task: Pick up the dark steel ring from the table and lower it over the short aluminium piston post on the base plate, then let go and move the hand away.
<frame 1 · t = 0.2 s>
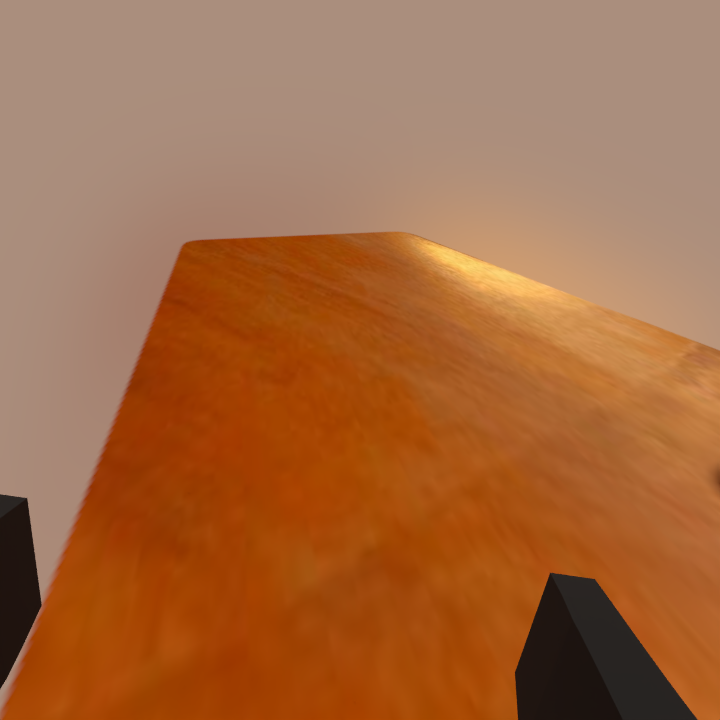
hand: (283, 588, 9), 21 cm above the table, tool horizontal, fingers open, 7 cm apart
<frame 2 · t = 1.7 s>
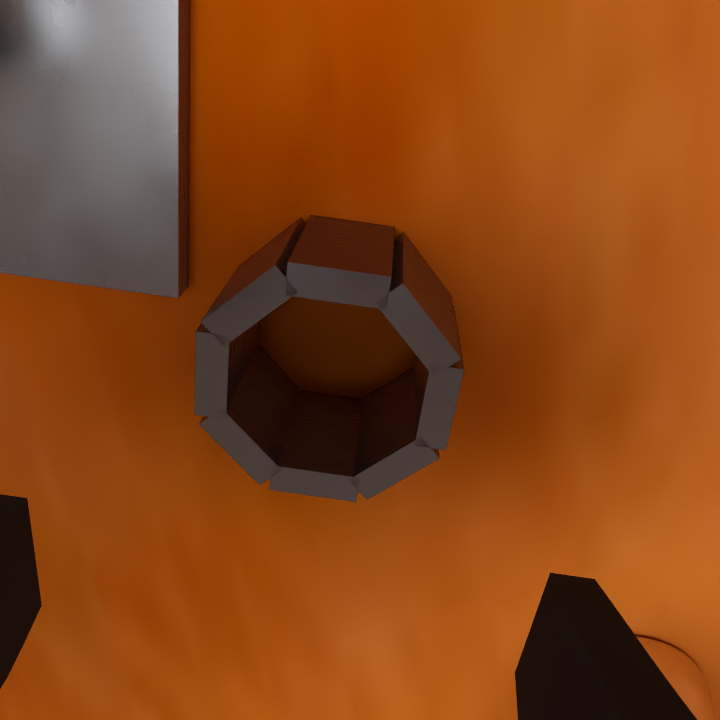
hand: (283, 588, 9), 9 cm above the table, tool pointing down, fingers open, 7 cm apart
ring: (339, 325, 17), on the table
beer glass: (610, 689, 23), on the table
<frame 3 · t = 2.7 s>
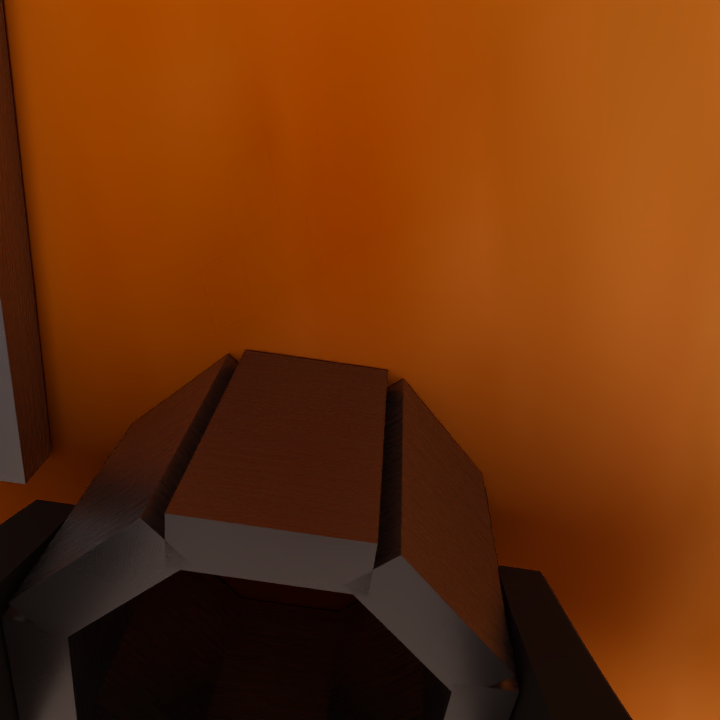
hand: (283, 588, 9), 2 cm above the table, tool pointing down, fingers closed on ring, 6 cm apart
ring: (299, 512, 11), on the table, touching gripper
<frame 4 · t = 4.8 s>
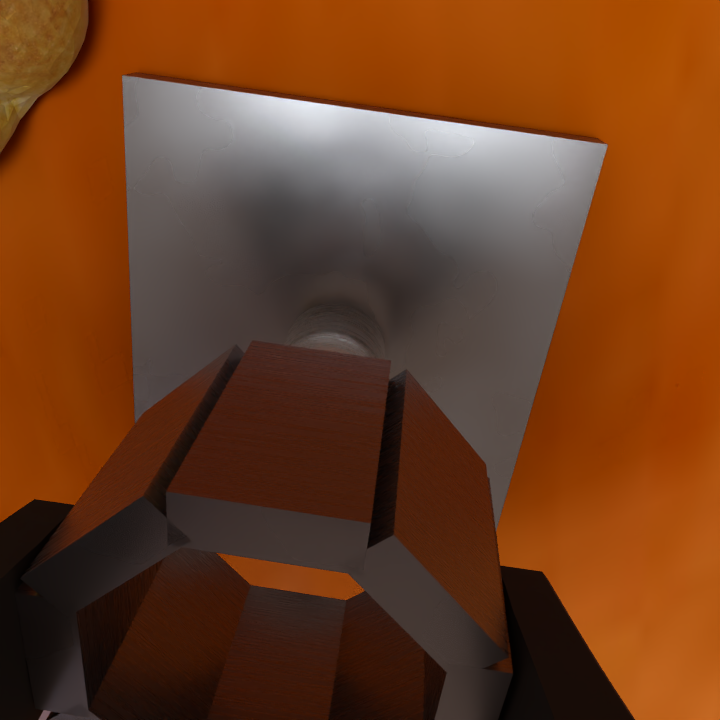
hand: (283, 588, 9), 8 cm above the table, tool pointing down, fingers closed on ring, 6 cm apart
ring: (307, 501, 11), point 7 cm above the table, touching gripper
piston post: (338, 335, 17), on the table
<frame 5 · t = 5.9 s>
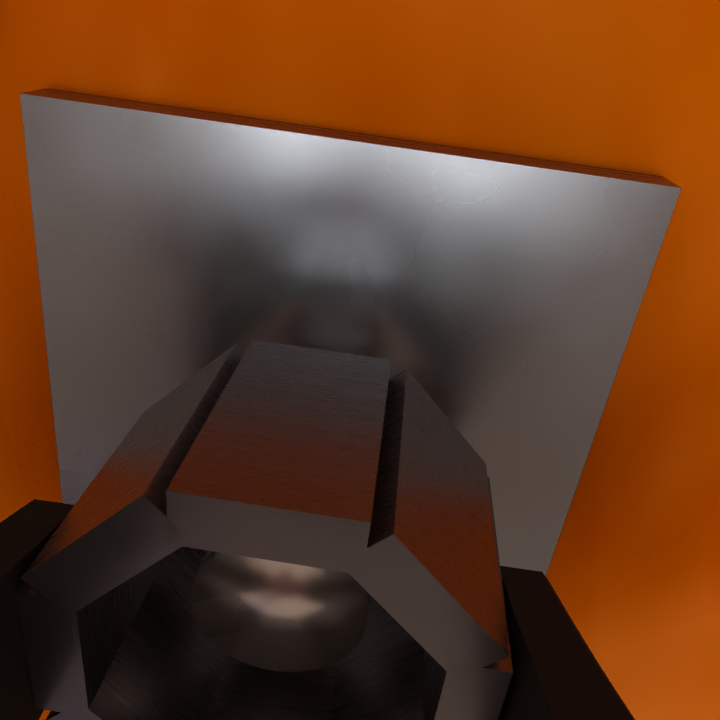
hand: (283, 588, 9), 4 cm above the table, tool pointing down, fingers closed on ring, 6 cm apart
ring: (307, 500, 11), point 3 cm above the table, touching gripper
piston post: (320, 419, 13), on the table
when the fingers open (4 cm above the table, at t = 6.6 s): ring drops 2 cm, resting on piston post.
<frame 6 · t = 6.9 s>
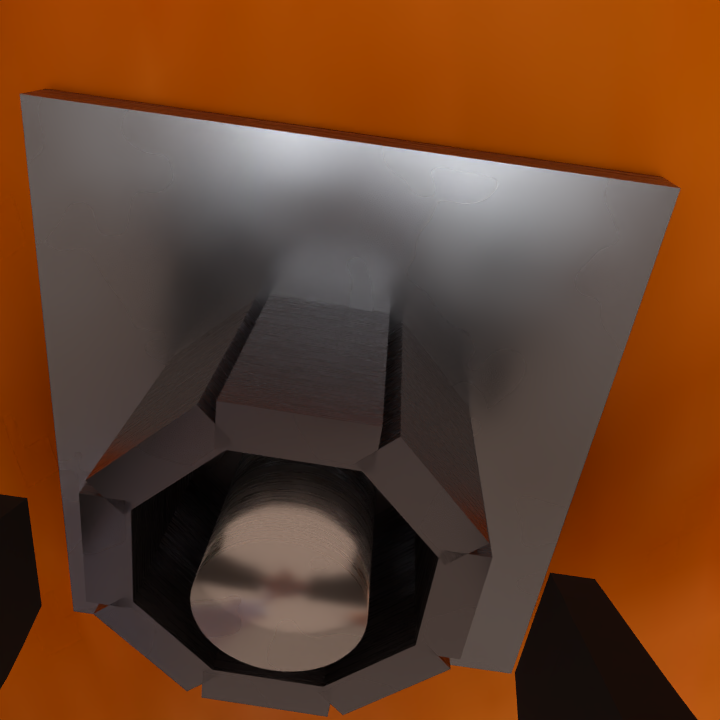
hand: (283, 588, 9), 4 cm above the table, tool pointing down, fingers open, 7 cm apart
ring: (311, 440, 12), point 1 cm above the table, touching piston post
piston post: (320, 419, 13), on the table
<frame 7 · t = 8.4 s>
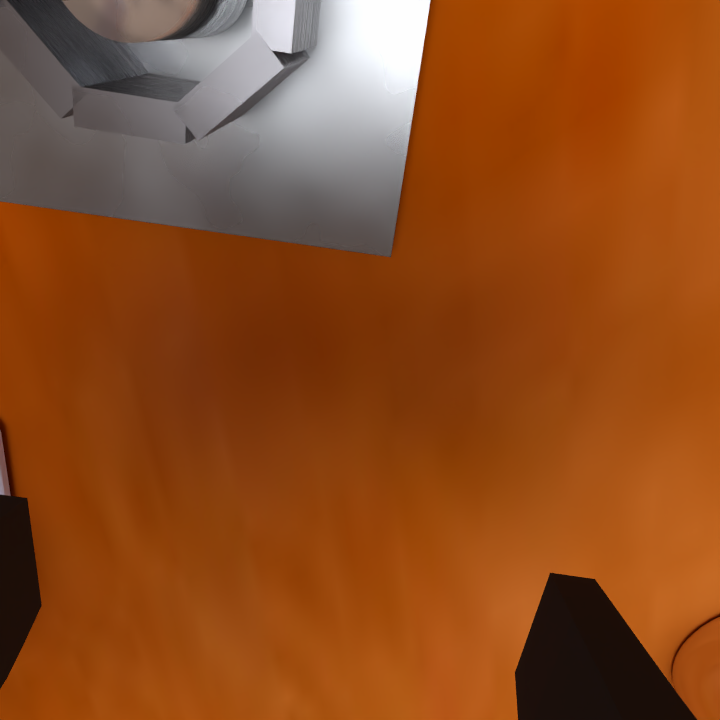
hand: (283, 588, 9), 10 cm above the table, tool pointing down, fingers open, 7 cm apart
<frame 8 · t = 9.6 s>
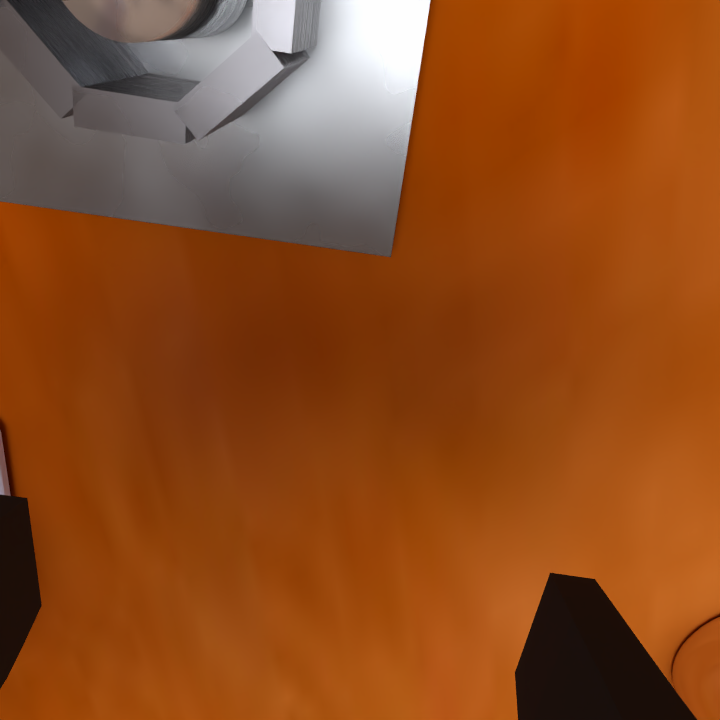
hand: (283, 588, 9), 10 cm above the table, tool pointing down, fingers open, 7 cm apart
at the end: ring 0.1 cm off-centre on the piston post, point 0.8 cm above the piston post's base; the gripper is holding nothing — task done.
